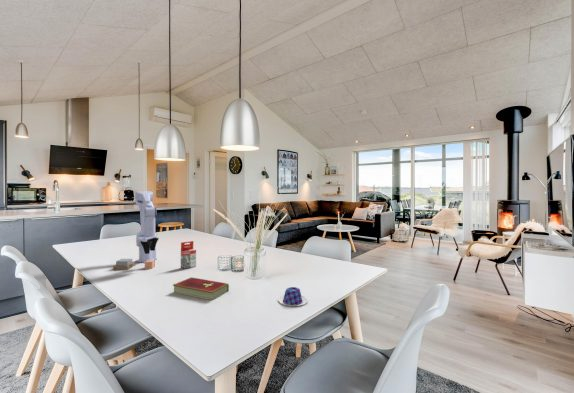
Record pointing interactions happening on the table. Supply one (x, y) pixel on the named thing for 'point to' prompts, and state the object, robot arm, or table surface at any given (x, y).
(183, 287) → the hardcover book
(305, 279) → the table surface
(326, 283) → the table surface
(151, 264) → the cube
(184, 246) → the ink box
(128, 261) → the top block
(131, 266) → the base block
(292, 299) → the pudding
